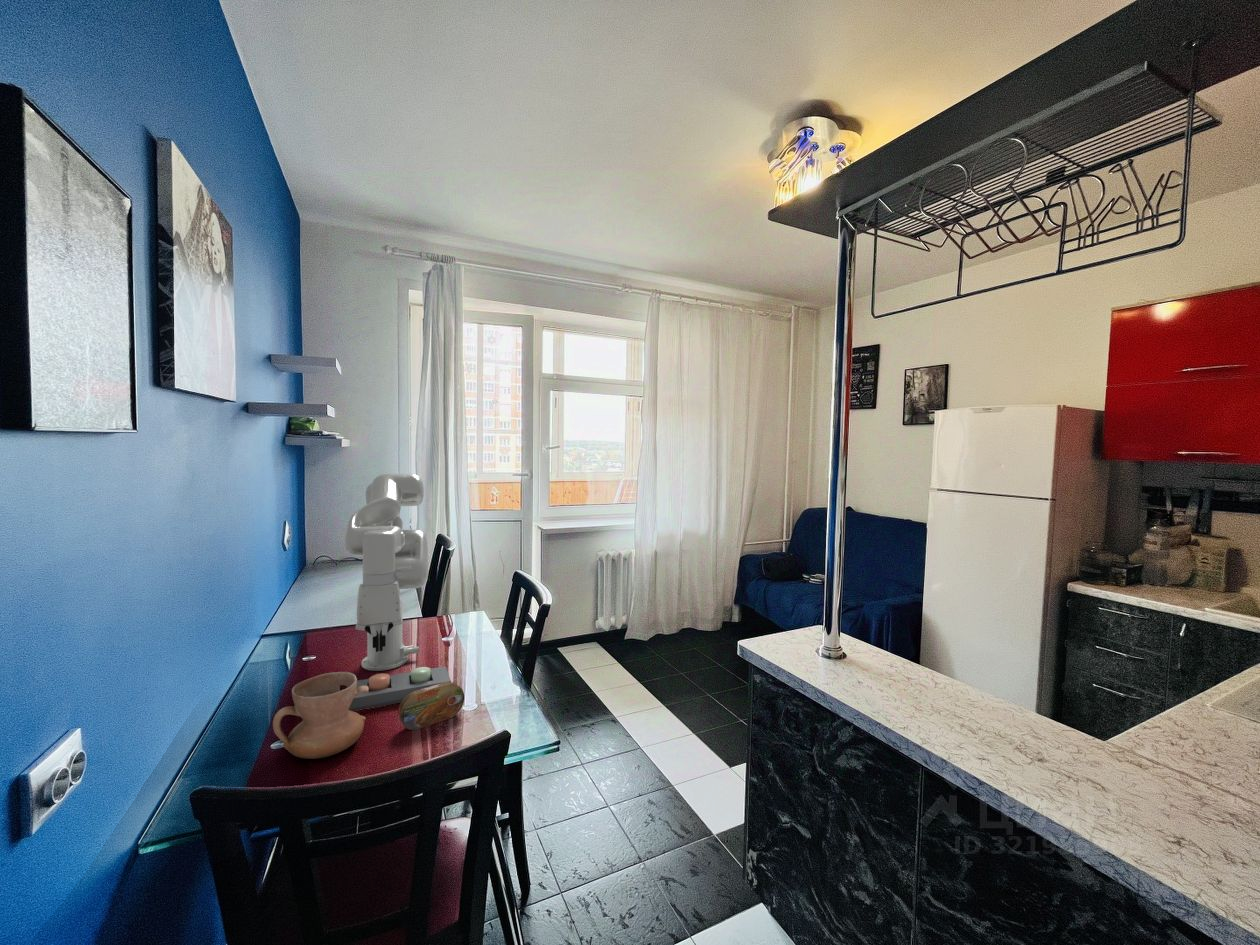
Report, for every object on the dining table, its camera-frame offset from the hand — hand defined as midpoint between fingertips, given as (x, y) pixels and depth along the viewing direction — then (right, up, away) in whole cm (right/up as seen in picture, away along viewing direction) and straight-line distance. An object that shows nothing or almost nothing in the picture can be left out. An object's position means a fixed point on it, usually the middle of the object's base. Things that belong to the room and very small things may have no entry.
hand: (379, 649), depth 132 cm
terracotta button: (-1, -11, +1) cm, 11 cm away
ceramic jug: (-2, -15, -20) cm, 25 cm away
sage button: (+8, -11, +6) cm, 15 cm away
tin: (+17, -14, -9) cm, 24 cm away
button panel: (+4, -13, +4) cm, 14 cm away
